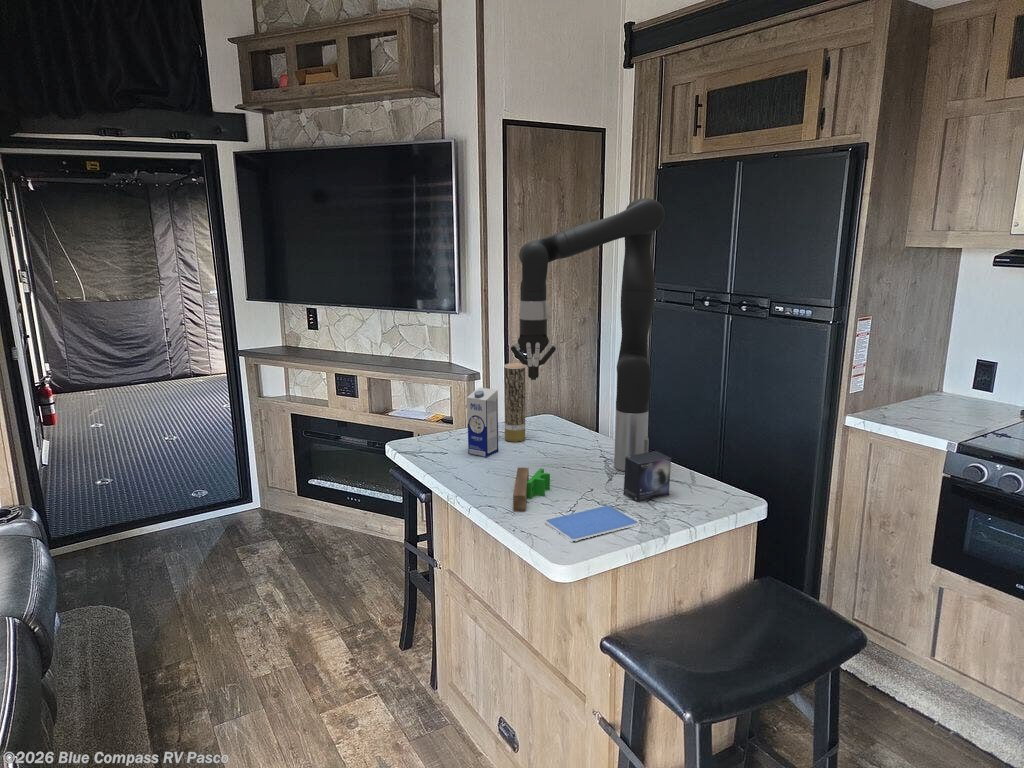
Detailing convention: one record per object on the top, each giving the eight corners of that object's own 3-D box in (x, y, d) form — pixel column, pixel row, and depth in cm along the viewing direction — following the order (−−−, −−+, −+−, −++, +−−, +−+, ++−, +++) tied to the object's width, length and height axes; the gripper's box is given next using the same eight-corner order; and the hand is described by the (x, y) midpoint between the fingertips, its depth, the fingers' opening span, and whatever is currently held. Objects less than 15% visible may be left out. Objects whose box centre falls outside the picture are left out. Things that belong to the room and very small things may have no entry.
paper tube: (528, 438, 225) (528, 364, 219) (520, 443, 219) (519, 367, 213) (510, 435, 228) (509, 362, 222) (501, 441, 222) (500, 366, 216)
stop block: (528, 481, 186) (528, 467, 185) (525, 510, 166) (525, 495, 165) (517, 481, 186) (517, 467, 185) (513, 510, 166) (513, 495, 166)
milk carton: (498, 451, 211) (498, 389, 207) (486, 457, 205) (485, 393, 201) (480, 448, 215) (479, 386, 210) (467, 453, 209) (466, 390, 205)
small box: (637, 503, 171) (639, 463, 168) (622, 494, 176) (623, 456, 174) (670, 495, 176) (672, 457, 173) (654, 487, 181) (656, 450, 179)
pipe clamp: (540, 501, 173) (540, 484, 172) (526, 499, 174) (526, 482, 173) (553, 485, 183) (553, 469, 182) (540, 483, 185) (540, 467, 183)
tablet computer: (608, 508, 169) (609, 503, 169) (641, 527, 158) (641, 522, 158) (542, 524, 160) (542, 519, 160) (572, 546, 149) (572, 540, 149)
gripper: (557, 315, 187) (557, 376, 191) (510, 315, 188) (510, 376, 192) (557, 318, 180) (557, 382, 183) (508, 318, 180) (508, 382, 184)
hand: (533, 379), depth 187 cm, fingers closed
